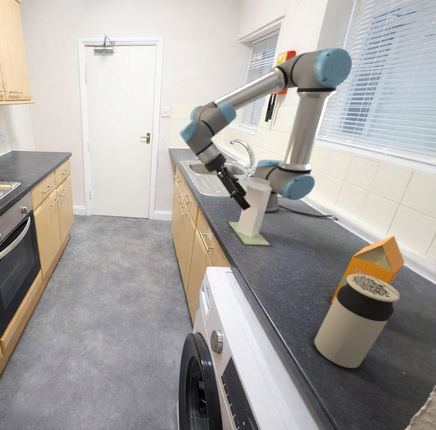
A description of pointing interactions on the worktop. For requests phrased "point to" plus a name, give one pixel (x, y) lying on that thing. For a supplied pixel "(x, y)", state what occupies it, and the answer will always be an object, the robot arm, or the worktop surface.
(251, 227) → the milk
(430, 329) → the worktop surface
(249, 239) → the sage mat
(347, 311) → the travel mug
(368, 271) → the orange juice
